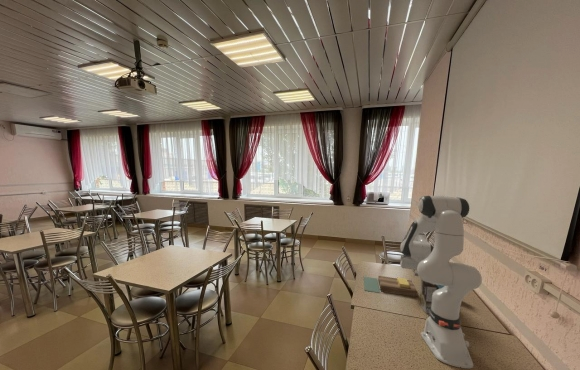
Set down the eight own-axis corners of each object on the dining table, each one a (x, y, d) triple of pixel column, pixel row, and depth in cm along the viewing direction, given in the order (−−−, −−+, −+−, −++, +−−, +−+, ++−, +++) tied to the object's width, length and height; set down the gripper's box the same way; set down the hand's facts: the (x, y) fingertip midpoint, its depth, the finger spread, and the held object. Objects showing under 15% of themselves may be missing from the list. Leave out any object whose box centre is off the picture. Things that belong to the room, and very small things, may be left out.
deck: (416, 296, 143) (417, 291, 142) (380, 290, 149) (380, 285, 148) (411, 286, 156) (411, 280, 156) (378, 280, 162) (378, 275, 162)
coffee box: (437, 314, 125) (439, 288, 124) (425, 313, 126) (427, 286, 125) (430, 305, 134) (432, 280, 133) (419, 303, 135) (420, 278, 134)
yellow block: (409, 288, 146) (409, 285, 146) (399, 286, 147) (399, 283, 147) (406, 281, 154) (406, 278, 154) (396, 280, 156) (397, 277, 156)
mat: (380, 293, 146) (380, 292, 146) (364, 290, 149) (364, 290, 149) (377, 278, 165) (377, 278, 165) (363, 276, 168) (363, 276, 168)
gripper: (401, 256, 147) (400, 275, 148) (436, 260, 142) (434, 280, 143) (399, 252, 153) (398, 271, 154) (433, 256, 148) (431, 275, 149)
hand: (416, 275), depth 149 cm, fingers closed
